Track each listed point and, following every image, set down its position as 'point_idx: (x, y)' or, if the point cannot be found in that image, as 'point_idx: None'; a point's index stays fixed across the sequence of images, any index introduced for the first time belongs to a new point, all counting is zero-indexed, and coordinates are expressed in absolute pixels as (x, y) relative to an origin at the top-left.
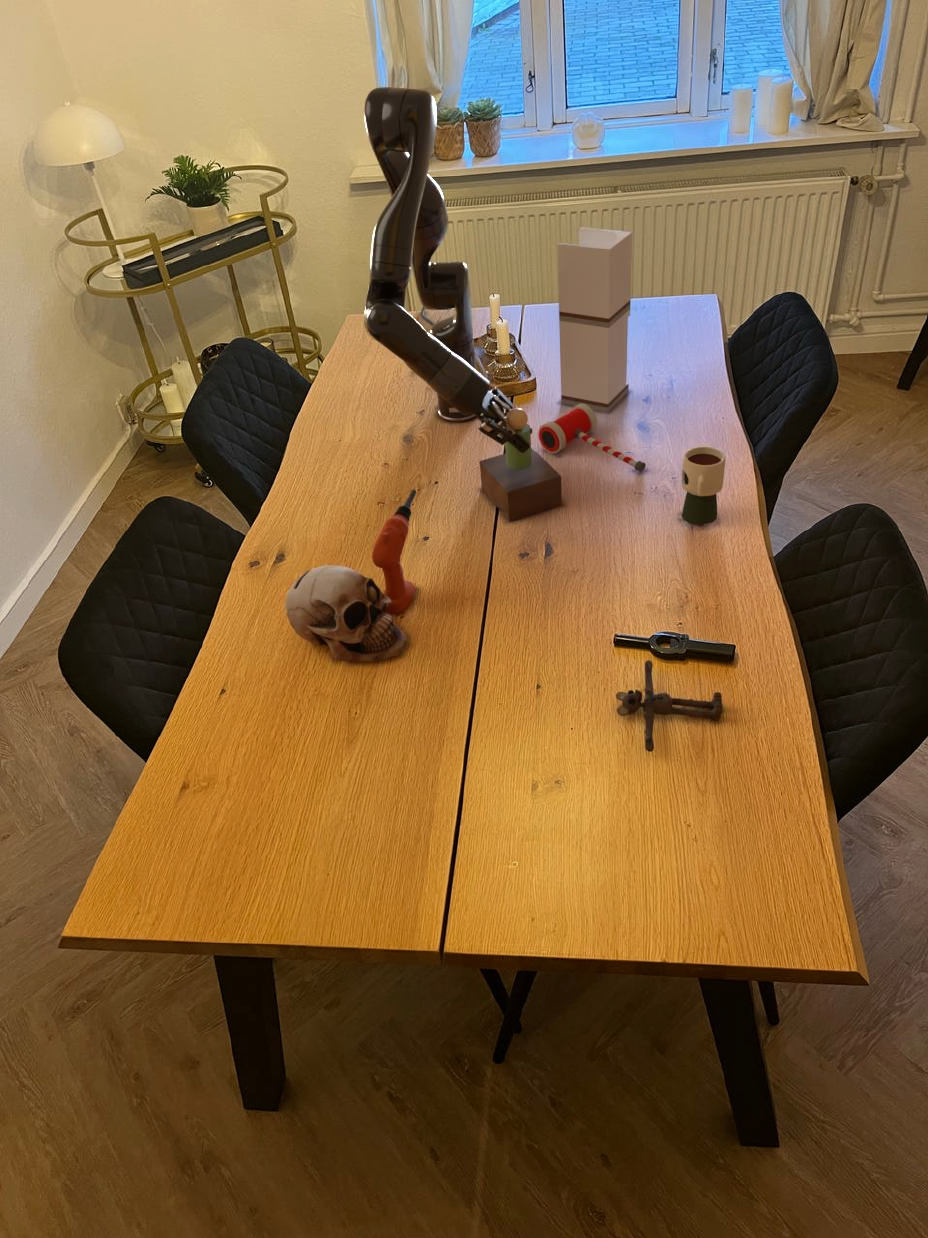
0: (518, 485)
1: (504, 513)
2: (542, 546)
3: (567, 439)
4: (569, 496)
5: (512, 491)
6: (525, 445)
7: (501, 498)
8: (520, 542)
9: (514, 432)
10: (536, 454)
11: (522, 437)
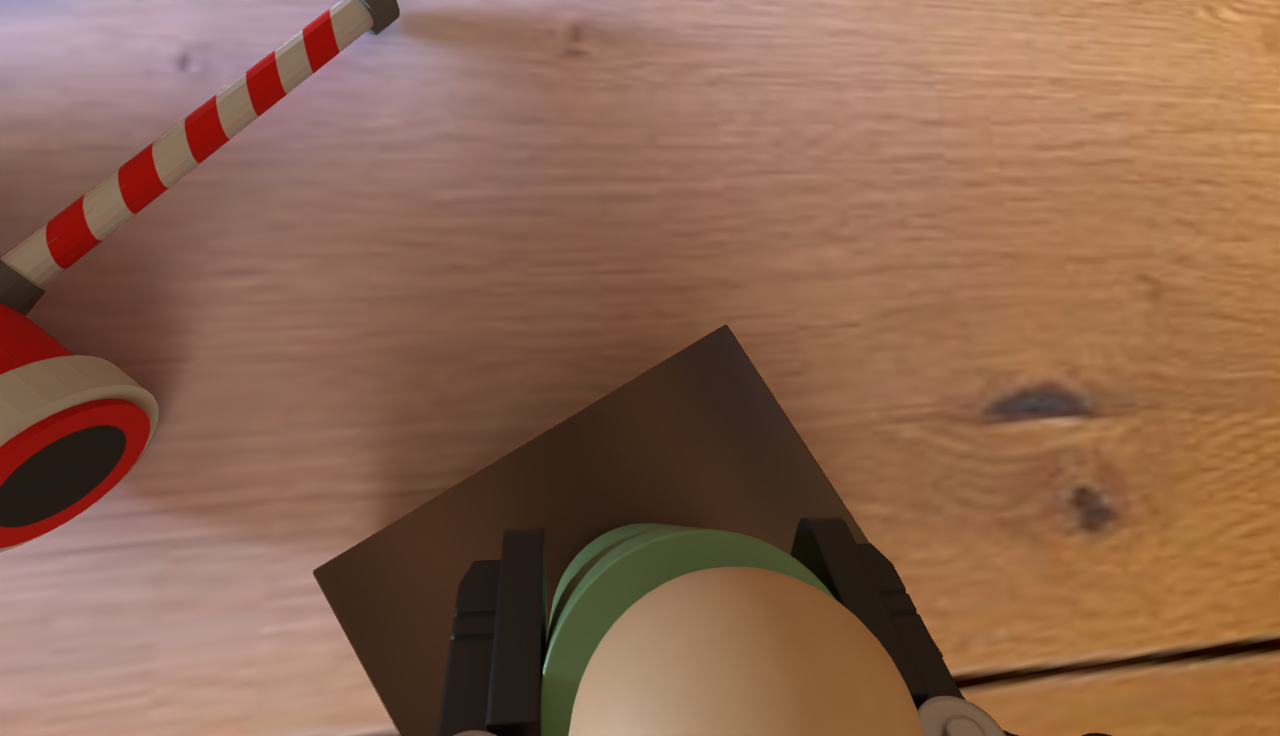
0: None
1: None
2: (1017, 432)
3: (70, 353)
4: (605, 337)
5: None
6: (872, 558)
7: None
8: (1003, 538)
9: (958, 716)
10: (446, 512)
11: (850, 603)
